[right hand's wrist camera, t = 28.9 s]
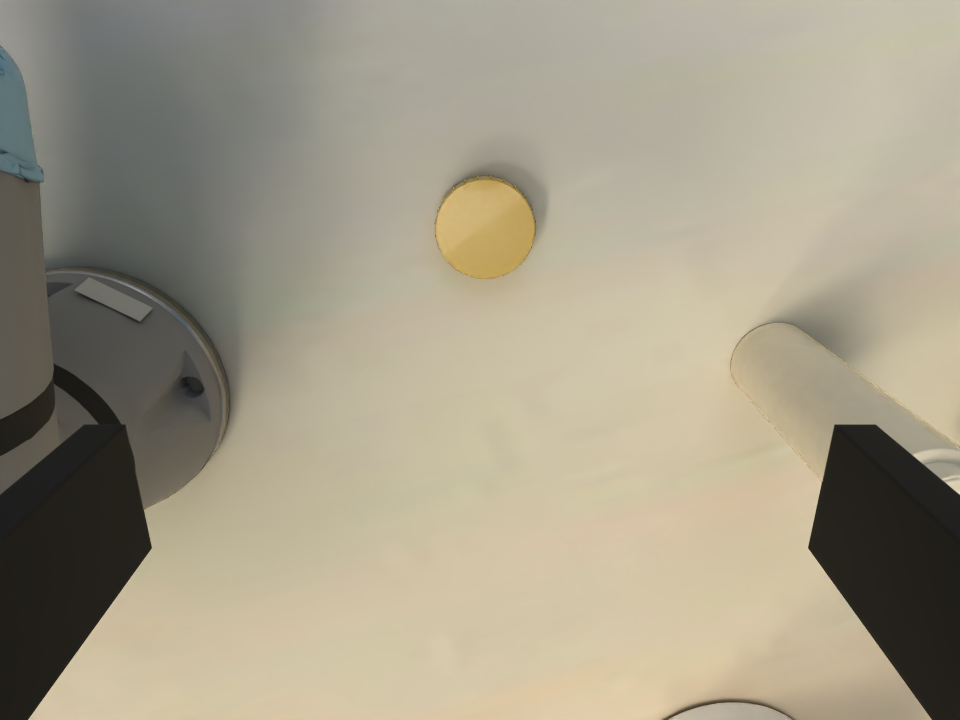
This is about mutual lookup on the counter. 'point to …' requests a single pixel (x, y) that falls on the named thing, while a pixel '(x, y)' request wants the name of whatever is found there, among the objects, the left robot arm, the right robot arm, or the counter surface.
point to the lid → (485, 227)
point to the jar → (828, 400)
